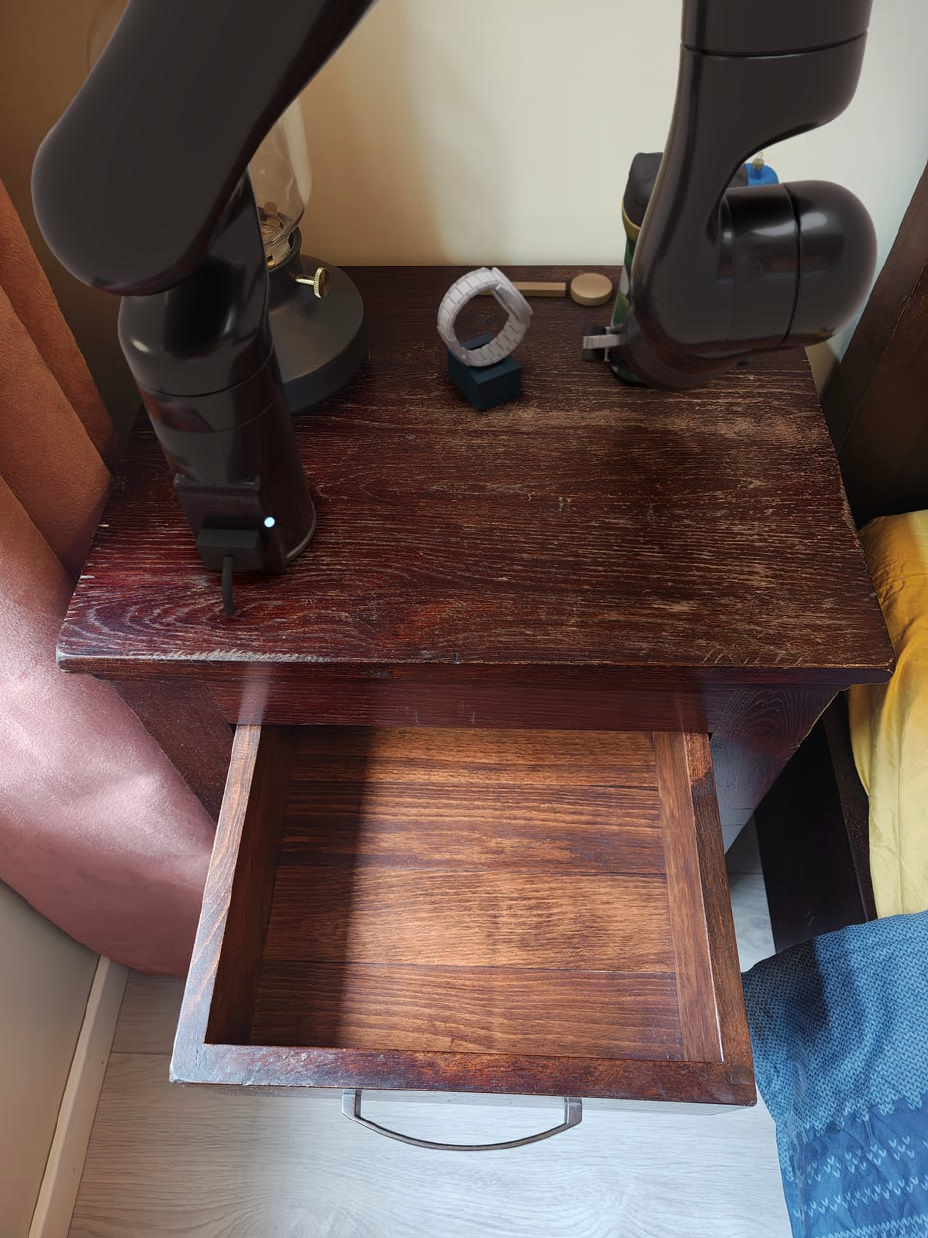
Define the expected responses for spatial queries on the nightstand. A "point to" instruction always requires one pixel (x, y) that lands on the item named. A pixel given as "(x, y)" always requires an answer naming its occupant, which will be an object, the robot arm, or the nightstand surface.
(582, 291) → the spoon
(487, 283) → the watch
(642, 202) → the coffee jar
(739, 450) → the nightstand surface
